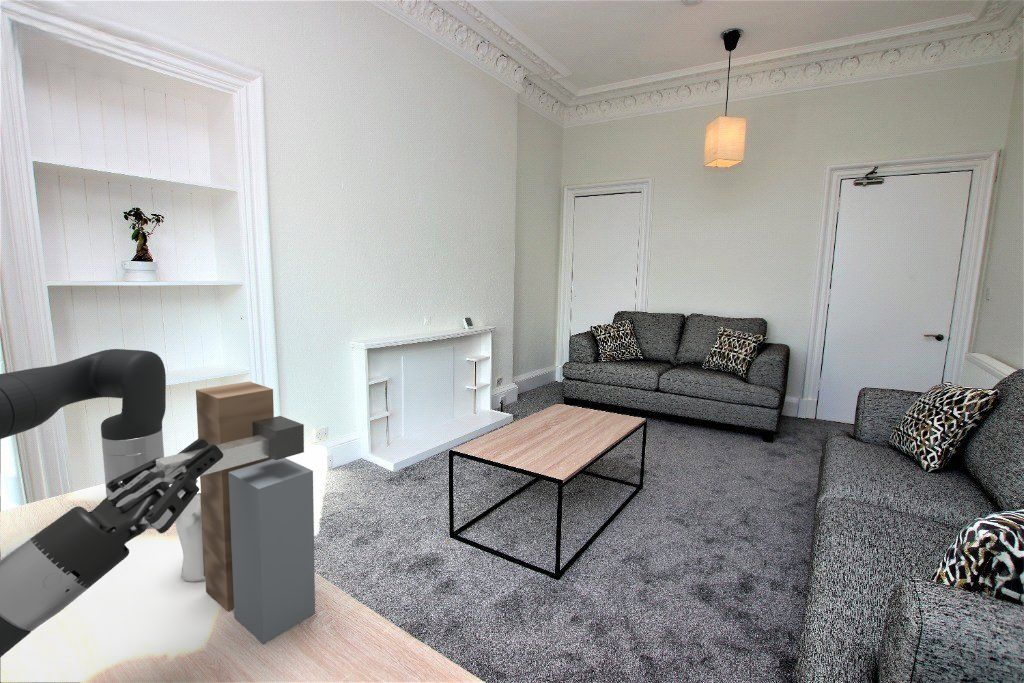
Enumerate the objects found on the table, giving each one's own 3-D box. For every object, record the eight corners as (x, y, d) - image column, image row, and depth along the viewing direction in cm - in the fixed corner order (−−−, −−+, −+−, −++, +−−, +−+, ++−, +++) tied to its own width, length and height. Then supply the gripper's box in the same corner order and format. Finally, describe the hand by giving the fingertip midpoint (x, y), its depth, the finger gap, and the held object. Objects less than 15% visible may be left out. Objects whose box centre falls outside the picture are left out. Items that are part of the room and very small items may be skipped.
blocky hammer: (151, 475, 57) (149, 443, 57) (280, 442, 70) (280, 415, 70) (171, 490, 54) (170, 456, 54) (303, 452, 67) (303, 424, 67)
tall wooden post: (205, 592, 74) (195, 389, 70) (255, 568, 80) (249, 381, 76) (227, 611, 70) (218, 398, 66) (278, 585, 76) (273, 389, 72)
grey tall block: (234, 618, 69) (228, 472, 66) (285, 590, 75) (281, 456, 72) (263, 644, 64) (258, 489, 61) (315, 613, 71) (312, 470, 67)
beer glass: (168, 575, 78) (163, 487, 76) (212, 553, 84) (208, 472, 82) (193, 589, 74) (188, 498, 72) (237, 566, 81) (233, 481, 79)
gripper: (64, 561, 55) (205, 453, 66) (105, 615, 47) (257, 481, 58) (12, 520, 51) (171, 412, 62) (47, 571, 43) (222, 437, 54)
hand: (212, 446), depth 60 cm, fingers closed on blocky hammer, 2 cm apart
